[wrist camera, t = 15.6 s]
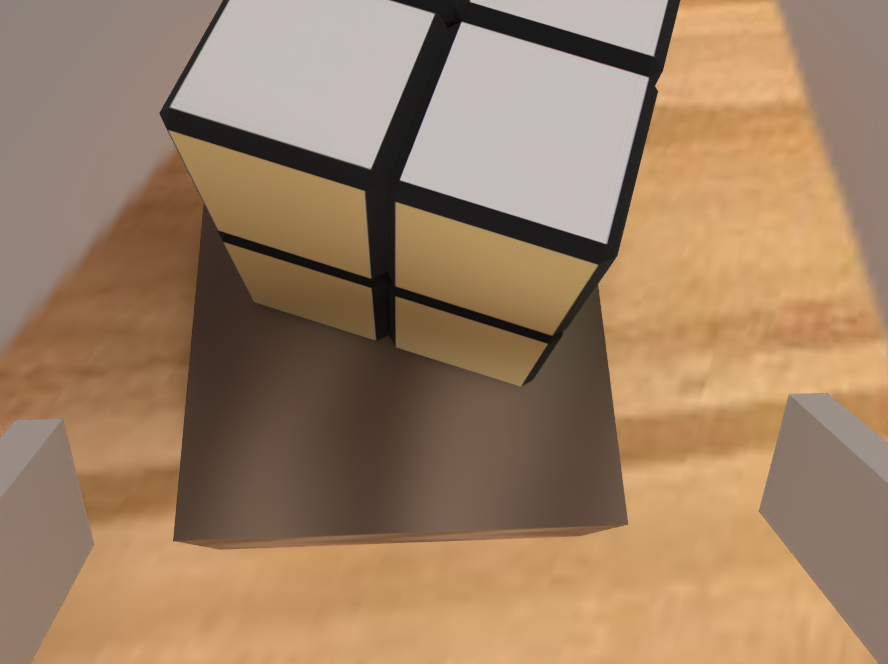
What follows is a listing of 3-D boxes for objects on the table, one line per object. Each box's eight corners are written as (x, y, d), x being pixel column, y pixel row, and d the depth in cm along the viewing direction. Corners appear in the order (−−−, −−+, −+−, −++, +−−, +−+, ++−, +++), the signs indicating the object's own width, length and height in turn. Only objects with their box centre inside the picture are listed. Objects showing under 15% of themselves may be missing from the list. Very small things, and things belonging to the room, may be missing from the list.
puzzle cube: (347, 78, 27) (322, -193, 17) (593, 153, 26) (704, -83, 17) (245, 303, 23) (146, 116, 14) (527, 392, 23) (621, 262, 14)
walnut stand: (220, 549, 26) (173, 540, 21) (242, 224, 31) (209, 145, 25) (579, 535, 27) (627, 524, 22) (547, 224, 32) (580, 148, 26)
